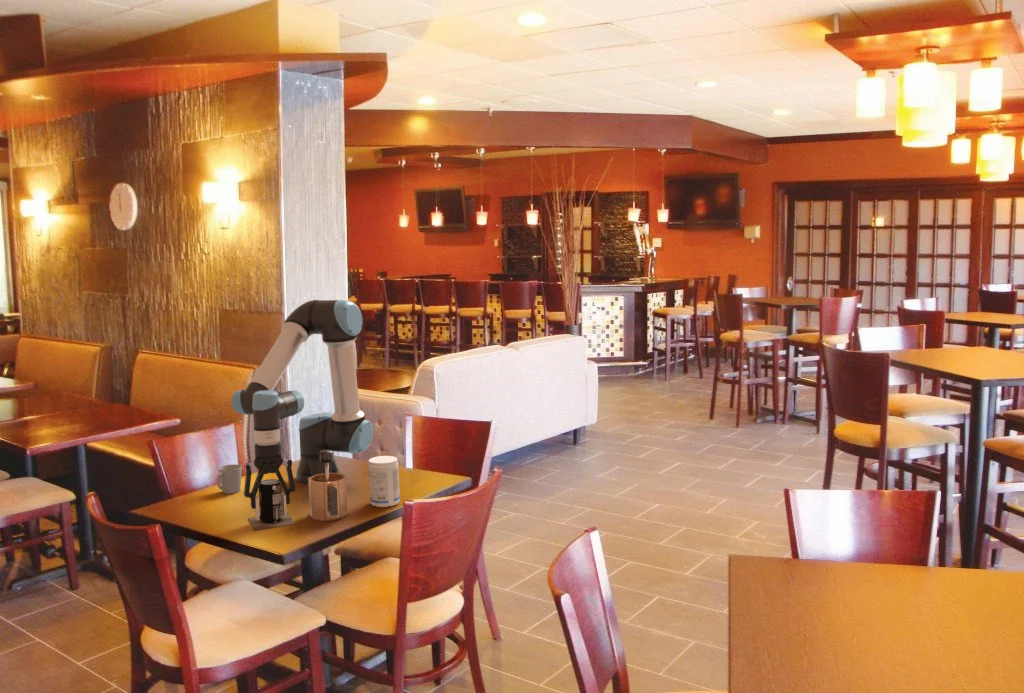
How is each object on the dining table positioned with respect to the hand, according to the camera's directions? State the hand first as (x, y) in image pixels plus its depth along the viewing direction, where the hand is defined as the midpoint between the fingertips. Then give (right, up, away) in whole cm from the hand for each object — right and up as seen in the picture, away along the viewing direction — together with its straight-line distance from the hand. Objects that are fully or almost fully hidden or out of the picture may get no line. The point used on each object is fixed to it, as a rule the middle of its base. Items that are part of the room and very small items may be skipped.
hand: (271, 516), depth 255 cm
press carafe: (+17, -1, +4) cm, 17 cm away
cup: (-23, +2, +31) cm, 39 cm away
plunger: (+16, +2, +5) cm, 17 cm away
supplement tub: (+32, +1, +17) cm, 36 cm away
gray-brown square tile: (0, -2, 0) cm, 2 cm away
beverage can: (0, -1, 0) cm, 1 cm away
